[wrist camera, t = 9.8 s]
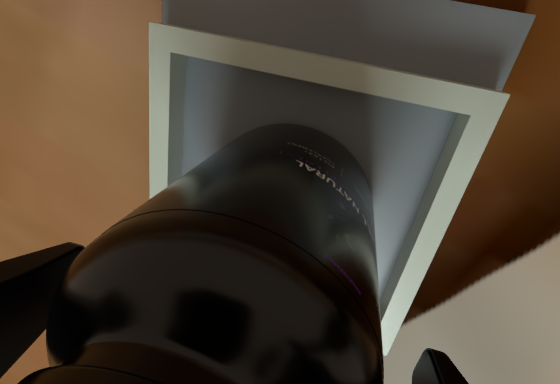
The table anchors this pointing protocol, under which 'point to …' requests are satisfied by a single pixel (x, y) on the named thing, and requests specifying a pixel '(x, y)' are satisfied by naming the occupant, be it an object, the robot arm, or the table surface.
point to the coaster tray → (342, 102)
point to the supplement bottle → (231, 276)
